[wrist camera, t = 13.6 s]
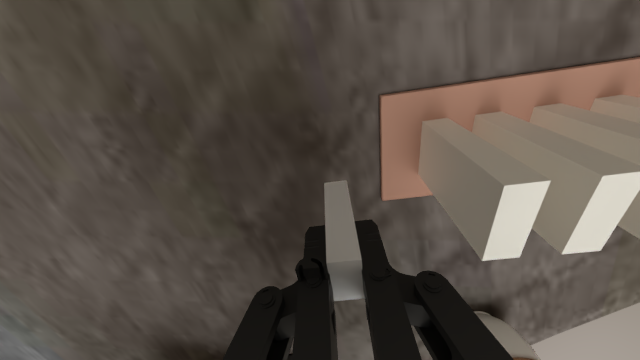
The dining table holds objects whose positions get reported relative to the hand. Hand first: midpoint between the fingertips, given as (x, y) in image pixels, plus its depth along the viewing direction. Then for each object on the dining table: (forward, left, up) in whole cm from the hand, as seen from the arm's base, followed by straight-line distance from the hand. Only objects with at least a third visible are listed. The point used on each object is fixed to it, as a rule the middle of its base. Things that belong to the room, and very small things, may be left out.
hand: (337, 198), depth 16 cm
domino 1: (+9, 0, -6) cm, 10 cm away
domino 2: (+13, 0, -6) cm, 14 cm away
